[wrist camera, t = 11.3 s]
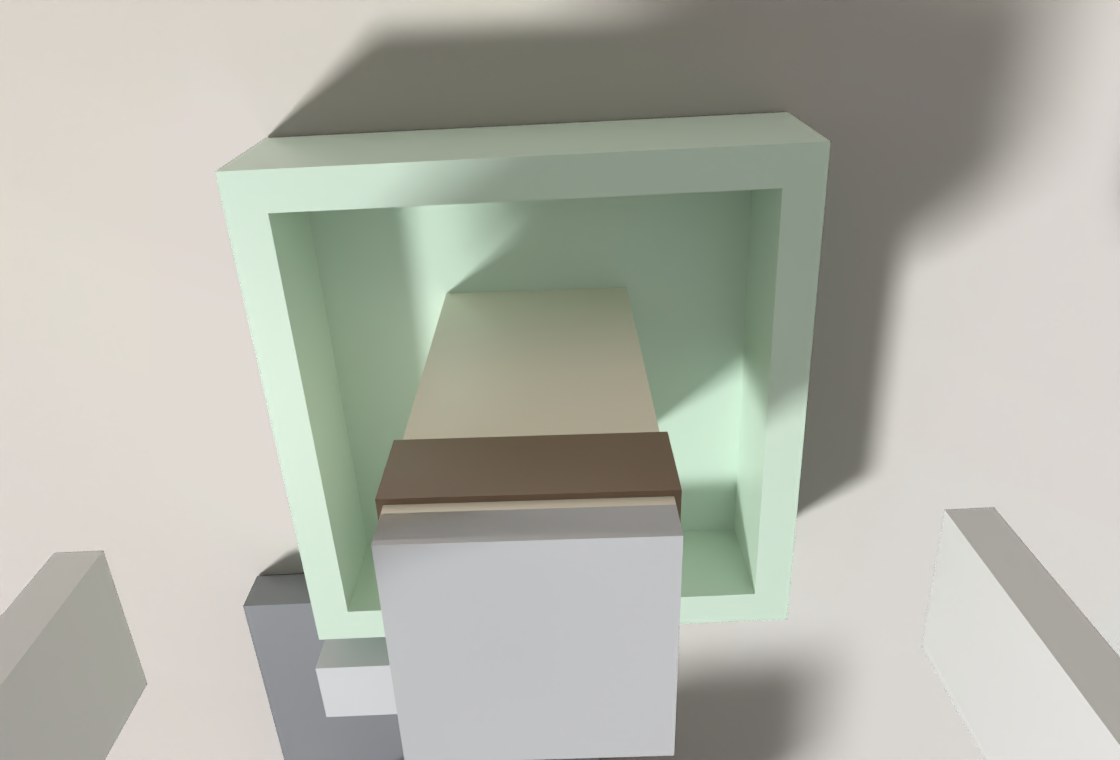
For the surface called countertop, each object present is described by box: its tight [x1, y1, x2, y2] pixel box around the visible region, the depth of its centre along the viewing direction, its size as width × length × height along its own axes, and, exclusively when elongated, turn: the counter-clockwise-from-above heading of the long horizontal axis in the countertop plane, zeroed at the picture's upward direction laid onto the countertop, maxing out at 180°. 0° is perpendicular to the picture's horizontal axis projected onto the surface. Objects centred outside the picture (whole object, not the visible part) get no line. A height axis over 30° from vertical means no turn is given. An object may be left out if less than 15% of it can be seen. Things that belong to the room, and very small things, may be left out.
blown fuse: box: [371, 287, 683, 760], centre depth 16 cm, size 4×4×9 cm
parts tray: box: [215, 112, 831, 640], centre depth 19 cm, size 11×11×3 cm
